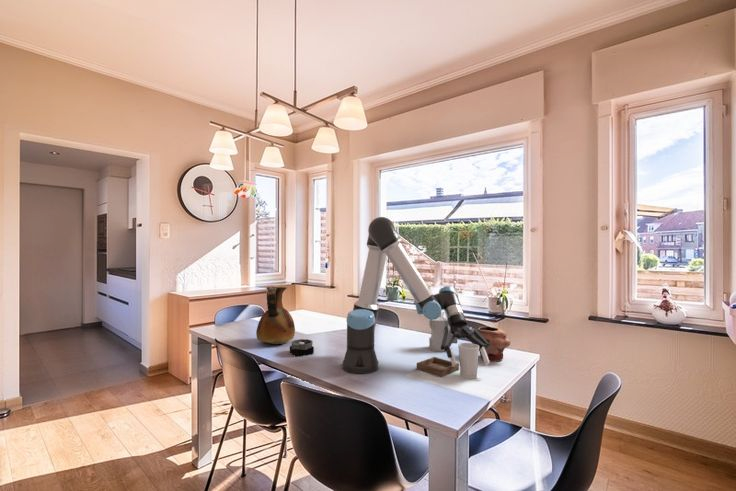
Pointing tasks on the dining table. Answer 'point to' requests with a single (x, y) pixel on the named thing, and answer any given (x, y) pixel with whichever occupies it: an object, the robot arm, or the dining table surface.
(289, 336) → the brown vase
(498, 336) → the brown clay rounded pot
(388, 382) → the dining table surface
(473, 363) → the cup
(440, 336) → the circuit breaker
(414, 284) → the robot arm
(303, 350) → the cpu cooler
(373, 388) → the dining table surface
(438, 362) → the wooden tray
